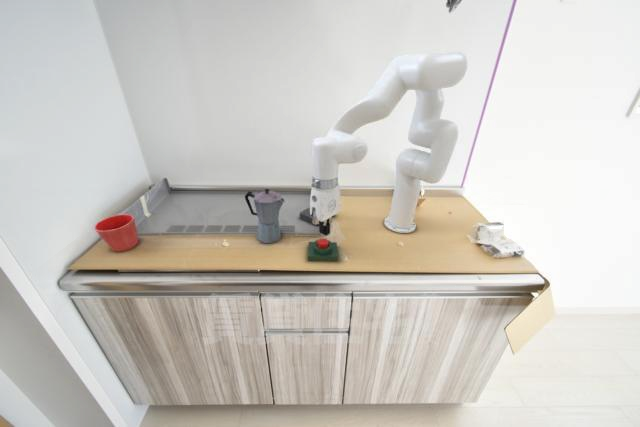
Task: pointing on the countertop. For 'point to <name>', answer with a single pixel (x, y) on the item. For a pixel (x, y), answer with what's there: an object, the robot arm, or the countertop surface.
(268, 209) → the moka pot
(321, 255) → the button block
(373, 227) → the countertop surface
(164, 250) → the countertop surface
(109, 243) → the flower pot
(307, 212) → the stove panel
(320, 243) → the button
